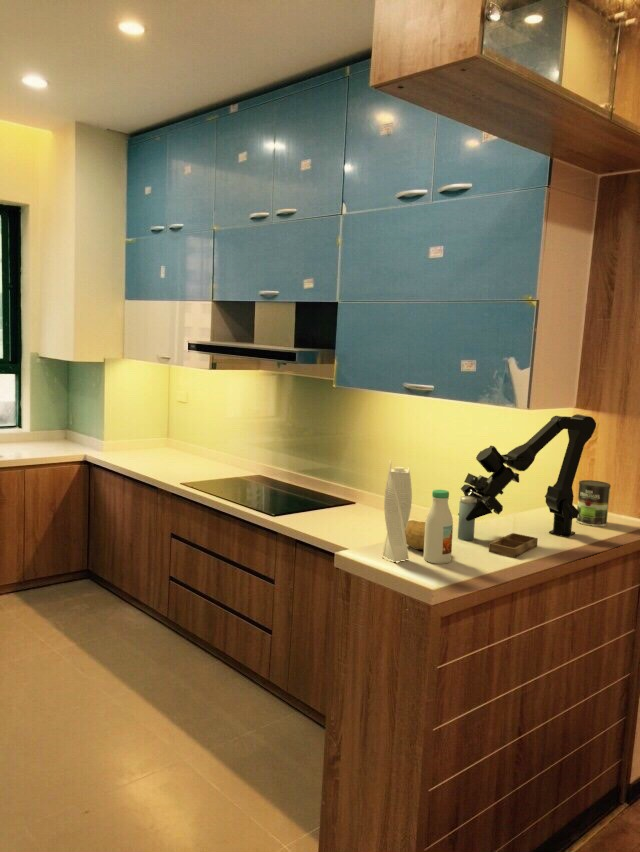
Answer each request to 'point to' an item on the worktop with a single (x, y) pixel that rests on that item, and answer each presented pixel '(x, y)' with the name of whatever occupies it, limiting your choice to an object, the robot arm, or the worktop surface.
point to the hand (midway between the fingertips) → (462, 517)
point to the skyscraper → (397, 512)
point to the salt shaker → (465, 526)
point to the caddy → (513, 545)
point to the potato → (415, 534)
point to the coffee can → (593, 502)
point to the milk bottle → (438, 529)
